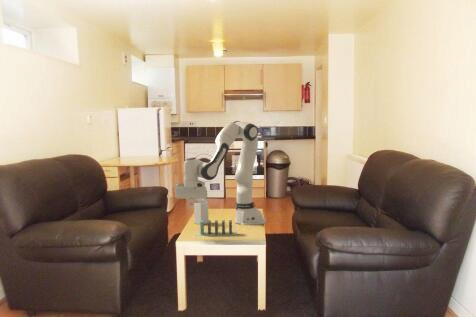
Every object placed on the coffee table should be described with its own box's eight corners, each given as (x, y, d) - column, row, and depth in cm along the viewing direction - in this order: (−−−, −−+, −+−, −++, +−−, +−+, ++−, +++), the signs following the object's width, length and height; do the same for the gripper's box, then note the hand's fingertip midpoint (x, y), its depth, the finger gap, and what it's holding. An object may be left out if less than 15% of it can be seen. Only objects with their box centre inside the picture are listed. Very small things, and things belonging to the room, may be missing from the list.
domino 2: (211, 232, 221) (210, 220, 220) (210, 234, 217) (210, 222, 216) (208, 232, 221) (208, 220, 221) (207, 234, 217) (207, 222, 216)
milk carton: (194, 223, 243) (193, 197, 241) (202, 221, 248) (201, 195, 246) (201, 225, 238) (200, 198, 236) (208, 223, 243) (208, 196, 241)
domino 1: (204, 232, 221) (203, 220, 221) (203, 234, 217) (202, 222, 216) (201, 232, 221) (201, 220, 221) (200, 234, 217) (200, 222, 216)
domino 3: (218, 232, 221) (217, 220, 220) (217, 234, 217) (217, 222, 216) (215, 232, 221) (215, 220, 220) (215, 234, 217) (214, 222, 216)
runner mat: (237, 232, 222) (236, 231, 222) (236, 235, 215) (236, 235, 215) (197, 232, 223) (197, 231, 223) (195, 236, 216) (195, 235, 216)
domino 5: (232, 232, 221) (231, 220, 220) (231, 234, 217) (231, 222, 216) (229, 232, 221) (229, 220, 220) (229, 234, 217) (229, 222, 216)
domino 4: (225, 232, 221) (224, 220, 220) (224, 234, 217) (224, 222, 216) (222, 232, 221) (222, 220, 220) (222, 234, 217) (221, 222, 216)
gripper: (173, 184, 213) (174, 206, 214) (206, 184, 213) (206, 206, 214) (175, 182, 219) (176, 204, 221) (207, 182, 219) (207, 203, 220)
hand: (191, 205), depth 217 cm, fingers closed
